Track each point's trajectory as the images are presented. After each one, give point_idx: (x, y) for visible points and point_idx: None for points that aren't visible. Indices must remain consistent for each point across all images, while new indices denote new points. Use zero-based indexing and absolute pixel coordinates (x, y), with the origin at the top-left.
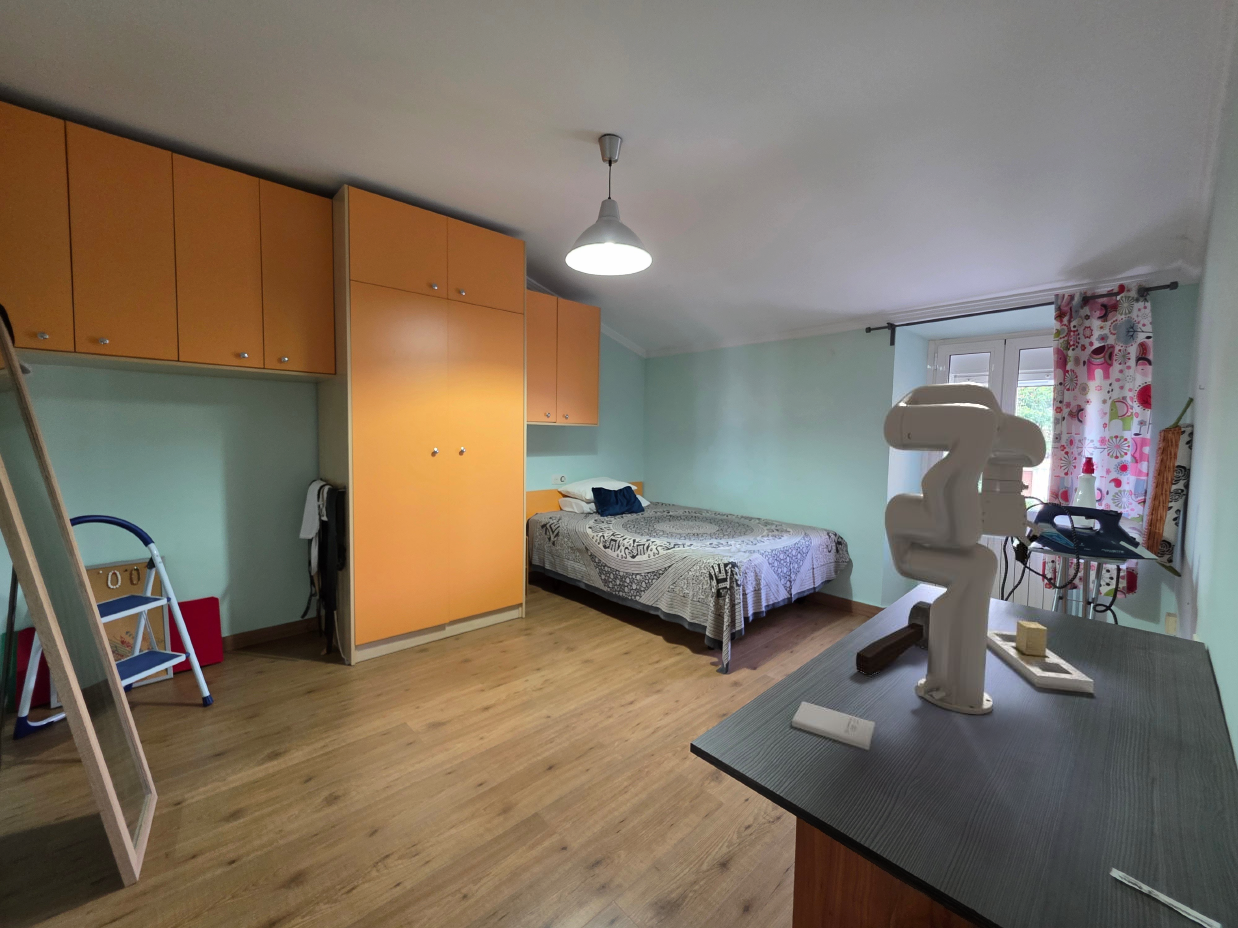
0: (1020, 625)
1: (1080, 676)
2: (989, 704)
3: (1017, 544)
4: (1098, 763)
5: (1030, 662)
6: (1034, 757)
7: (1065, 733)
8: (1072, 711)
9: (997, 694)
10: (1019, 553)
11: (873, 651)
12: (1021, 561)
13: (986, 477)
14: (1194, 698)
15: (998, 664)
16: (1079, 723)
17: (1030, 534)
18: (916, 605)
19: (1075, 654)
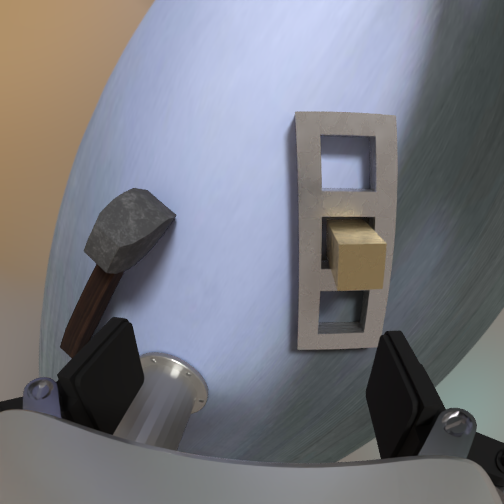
0: (337, 259)
1: (370, 335)
2: (200, 406)
3: (420, 407)
4: (265, 451)
5: (317, 300)
6: (216, 449)
7: (264, 425)
8: (304, 389)
9: (226, 369)
10: (382, 405)
11: (72, 348)
12: (367, 395)
13: None
14: (493, 306)
15: (275, 263)
16: (293, 409)
17: (495, 487)
18: (88, 254)
19: (455, 167)
